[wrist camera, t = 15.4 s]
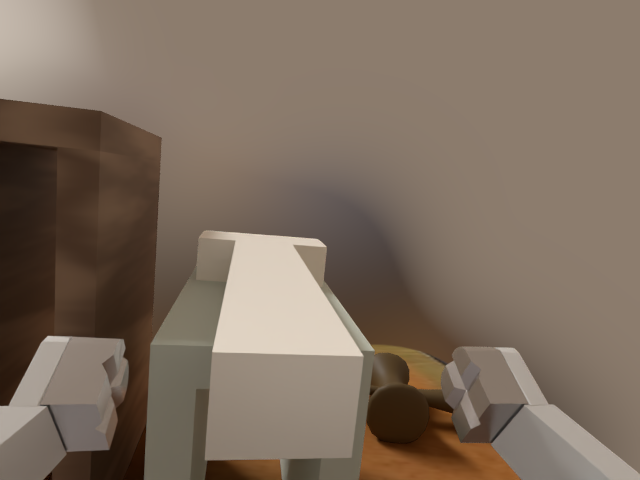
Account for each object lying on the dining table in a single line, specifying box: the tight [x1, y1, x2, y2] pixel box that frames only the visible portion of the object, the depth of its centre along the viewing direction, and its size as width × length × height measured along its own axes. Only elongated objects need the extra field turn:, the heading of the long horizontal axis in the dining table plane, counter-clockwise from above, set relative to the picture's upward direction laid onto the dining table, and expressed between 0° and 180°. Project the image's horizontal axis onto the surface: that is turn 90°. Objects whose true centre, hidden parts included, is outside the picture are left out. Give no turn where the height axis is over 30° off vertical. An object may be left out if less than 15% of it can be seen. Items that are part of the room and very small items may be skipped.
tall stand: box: [0, 99, 162, 480], centre depth 29 cm, size 10×15×26 cm, turn 10°
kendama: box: [367, 353, 454, 443], centre depth 44 cm, size 6×10×20 cm
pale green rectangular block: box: [144, 266, 375, 480], centre depth 28 cm, size 10×16×16 cm, turn 10°
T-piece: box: [196, 230, 364, 460], centre depth 22 cm, size 9×23×3 cm, turn 10°
